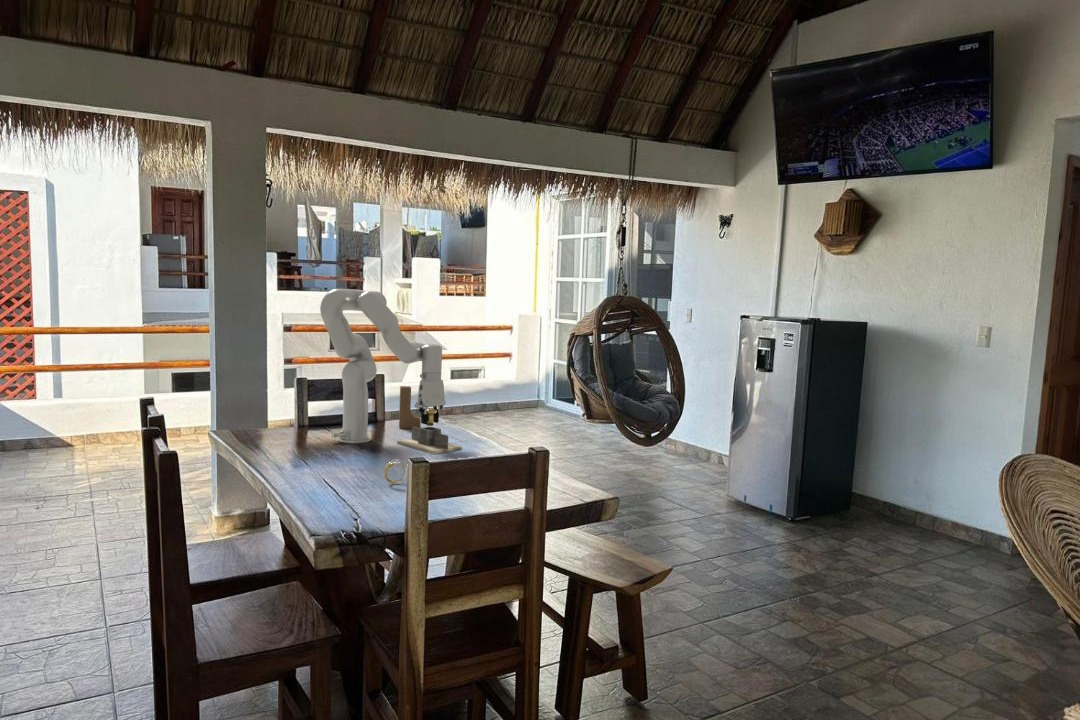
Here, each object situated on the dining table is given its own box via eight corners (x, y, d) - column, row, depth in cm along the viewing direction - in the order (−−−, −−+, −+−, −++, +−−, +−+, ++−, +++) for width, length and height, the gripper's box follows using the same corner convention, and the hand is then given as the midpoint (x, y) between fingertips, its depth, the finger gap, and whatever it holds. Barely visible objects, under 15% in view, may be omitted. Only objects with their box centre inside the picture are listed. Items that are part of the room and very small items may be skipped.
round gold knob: (428, 427, 277) (429, 411, 276) (420, 424, 280) (420, 409, 280) (439, 425, 281) (439, 410, 280) (430, 423, 284) (431, 408, 284)
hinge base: (433, 454, 269) (433, 435, 268) (397, 443, 283) (397, 425, 283) (461, 449, 279) (462, 431, 279) (425, 439, 294) (425, 422, 293)
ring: (406, 482, 229) (406, 457, 229) (407, 485, 226) (407, 460, 226) (383, 482, 228) (384, 458, 227) (384, 485, 225) (384, 460, 224)
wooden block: (419, 426, 318) (421, 386, 317) (420, 428, 314) (421, 387, 312) (398, 426, 316) (400, 386, 314) (399, 428, 312) (400, 387, 310)
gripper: (420, 379, 270) (418, 427, 272) (454, 376, 282) (452, 422, 284) (407, 376, 275) (406, 423, 277) (442, 374, 287) (440, 419, 289)
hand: (429, 422), depth 280 cm, fingers closed on round gold knob, 4 cm apart
